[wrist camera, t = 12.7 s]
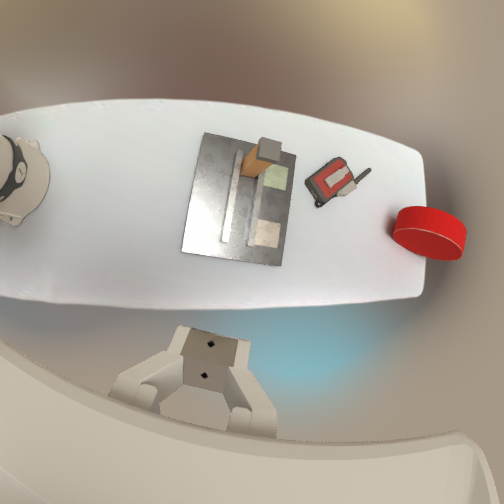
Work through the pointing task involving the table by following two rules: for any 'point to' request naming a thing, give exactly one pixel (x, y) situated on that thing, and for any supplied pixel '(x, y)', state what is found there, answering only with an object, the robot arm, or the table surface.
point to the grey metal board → (238, 204)
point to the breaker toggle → (261, 157)
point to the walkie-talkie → (332, 181)
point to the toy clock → (430, 233)
